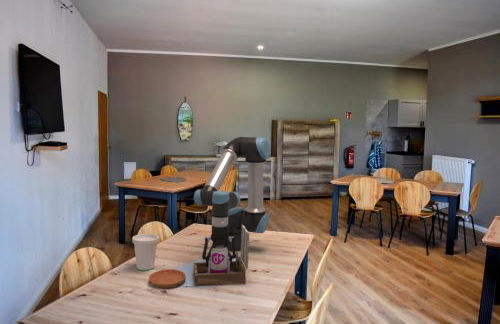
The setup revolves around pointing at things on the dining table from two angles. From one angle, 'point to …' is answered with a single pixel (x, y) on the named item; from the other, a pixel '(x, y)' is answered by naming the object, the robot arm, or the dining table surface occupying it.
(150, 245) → the cup
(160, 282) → the saucer
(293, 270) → the dining table surface
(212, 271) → the supplement can
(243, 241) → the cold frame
